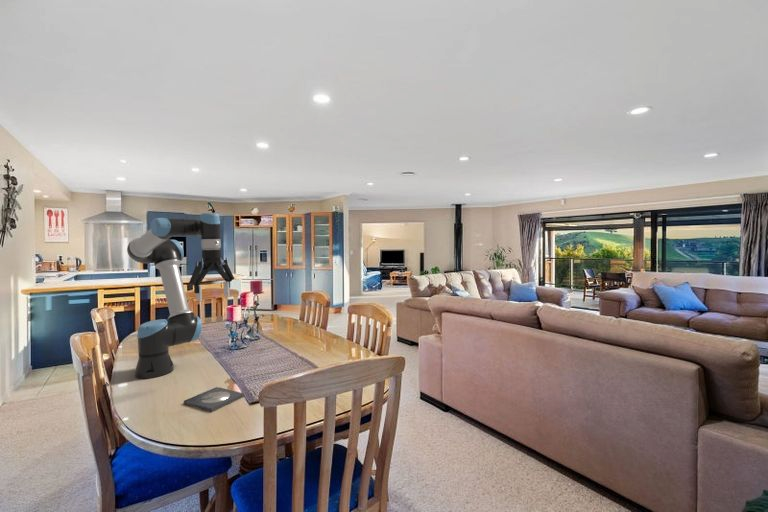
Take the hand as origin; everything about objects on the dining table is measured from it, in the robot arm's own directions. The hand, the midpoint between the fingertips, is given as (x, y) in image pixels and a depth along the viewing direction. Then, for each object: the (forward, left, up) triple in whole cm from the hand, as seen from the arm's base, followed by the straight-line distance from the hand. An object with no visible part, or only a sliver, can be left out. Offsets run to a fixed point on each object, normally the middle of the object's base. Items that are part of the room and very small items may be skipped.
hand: (213, 298), depth 160 cm
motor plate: (+20, -16, -35) cm, 43 cm away
